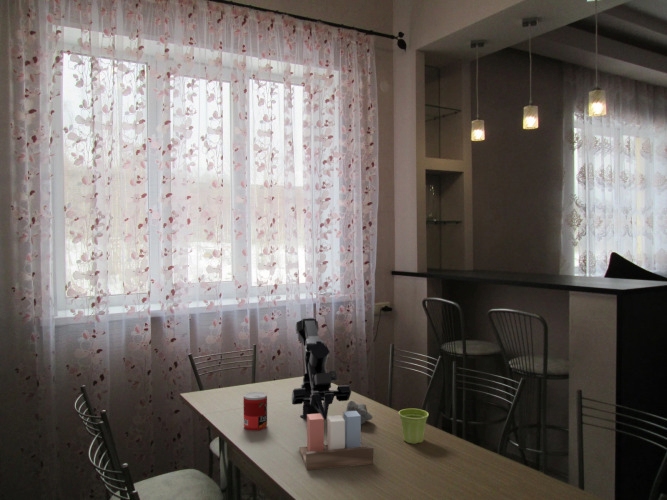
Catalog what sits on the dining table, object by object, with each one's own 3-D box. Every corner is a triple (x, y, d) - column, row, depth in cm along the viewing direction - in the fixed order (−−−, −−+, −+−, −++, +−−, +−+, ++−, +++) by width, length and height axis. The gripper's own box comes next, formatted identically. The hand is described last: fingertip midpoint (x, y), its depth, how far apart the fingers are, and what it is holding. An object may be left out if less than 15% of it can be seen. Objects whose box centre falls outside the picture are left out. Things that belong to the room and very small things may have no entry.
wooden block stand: (299, 452, 160) (299, 437, 160) (361, 446, 164) (361, 432, 164) (306, 470, 147) (306, 453, 147) (373, 463, 151) (373, 447, 151)
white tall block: (327, 450, 156) (327, 416, 156) (340, 449, 157) (340, 415, 157) (331, 456, 151) (330, 421, 151) (344, 455, 152) (344, 420, 152)
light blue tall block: (343, 444, 160) (343, 411, 160) (356, 443, 161) (356, 410, 161) (347, 451, 156) (347, 416, 155) (360, 450, 156) (360, 415, 156)
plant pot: (430, 437, 172) (430, 410, 172) (426, 447, 163) (425, 419, 163) (401, 433, 175) (401, 407, 175) (395, 444, 166) (395, 416, 166)
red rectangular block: (307, 448, 158) (307, 414, 158) (320, 446, 159) (320, 413, 159) (310, 454, 153) (309, 419, 153) (323, 453, 154) (323, 418, 154)
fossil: (379, 425, 183) (379, 401, 183) (359, 430, 178) (358, 406, 178) (358, 416, 192) (358, 394, 192) (338, 421, 187) (338, 399, 187)
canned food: (263, 431, 177) (262, 398, 177) (240, 430, 179) (239, 397, 178) (270, 424, 185) (270, 392, 184) (248, 422, 186) (248, 391, 186)
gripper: (292, 363, 169) (298, 408, 159) (349, 360, 174) (359, 404, 163) (289, 381, 177) (294, 426, 167) (343, 378, 181) (352, 421, 171)
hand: (325, 419), depth 166 cm, fingers closed
